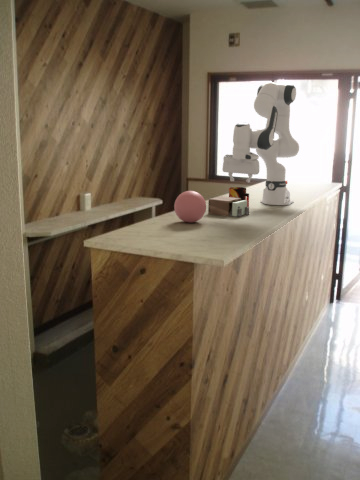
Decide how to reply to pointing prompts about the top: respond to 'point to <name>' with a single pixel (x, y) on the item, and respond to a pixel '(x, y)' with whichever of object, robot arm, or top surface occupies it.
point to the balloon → (190, 206)
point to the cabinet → (224, 206)
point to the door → (238, 207)
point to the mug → (239, 193)
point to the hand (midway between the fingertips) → (240, 182)
